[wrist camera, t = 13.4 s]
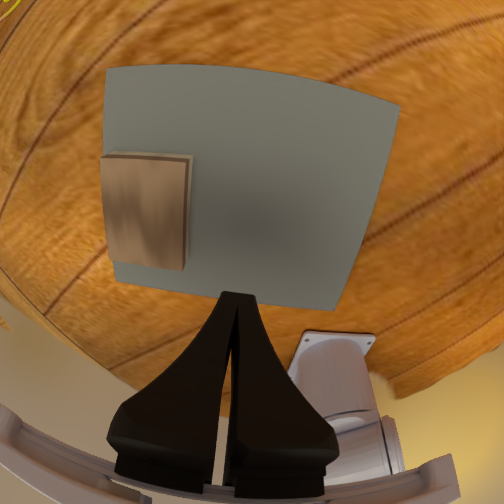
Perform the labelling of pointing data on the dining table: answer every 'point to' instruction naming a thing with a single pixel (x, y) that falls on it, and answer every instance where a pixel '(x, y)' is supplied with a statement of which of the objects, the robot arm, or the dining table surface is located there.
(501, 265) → the dining table surface
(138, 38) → the dining table surface
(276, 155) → the mat
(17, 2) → the decorative art
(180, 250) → the tile
